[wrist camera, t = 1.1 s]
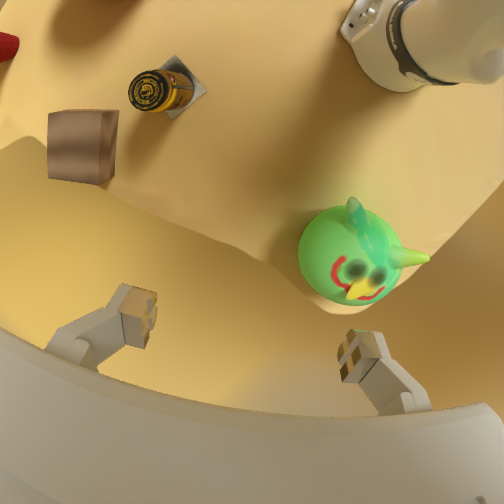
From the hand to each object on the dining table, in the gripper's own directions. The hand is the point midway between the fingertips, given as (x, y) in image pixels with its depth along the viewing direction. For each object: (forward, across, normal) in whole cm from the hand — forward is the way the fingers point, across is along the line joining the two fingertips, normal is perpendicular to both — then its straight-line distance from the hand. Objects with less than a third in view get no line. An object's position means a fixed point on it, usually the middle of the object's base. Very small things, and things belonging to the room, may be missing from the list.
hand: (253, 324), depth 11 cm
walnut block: (+37, +31, +3) cm, 49 cm away
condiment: (+37, +16, -8) cm, 41 cm away
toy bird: (+37, -17, +11) cm, 42 cm away
